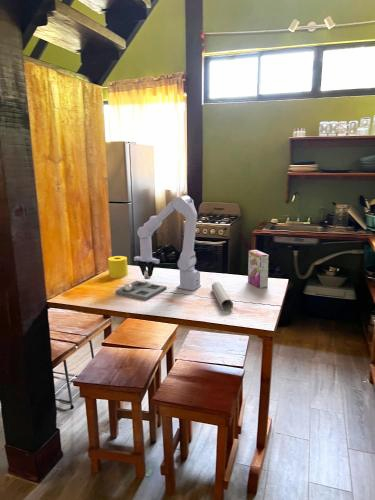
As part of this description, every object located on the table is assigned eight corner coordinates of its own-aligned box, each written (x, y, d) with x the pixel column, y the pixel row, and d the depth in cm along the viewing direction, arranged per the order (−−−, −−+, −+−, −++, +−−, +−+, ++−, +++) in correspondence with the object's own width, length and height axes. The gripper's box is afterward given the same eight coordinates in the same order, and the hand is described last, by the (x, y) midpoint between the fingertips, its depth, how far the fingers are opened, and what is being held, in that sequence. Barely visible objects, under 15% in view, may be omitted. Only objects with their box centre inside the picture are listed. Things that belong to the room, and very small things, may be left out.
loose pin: (151, 277, 182) (151, 270, 181) (148, 279, 179) (147, 272, 178) (146, 277, 184) (146, 269, 183) (143, 278, 181) (142, 271, 180)
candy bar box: (247, 281, 180) (247, 250, 176) (255, 280, 181) (256, 249, 178) (259, 288, 170) (260, 255, 166) (268, 287, 171) (269, 254, 167)
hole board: (166, 289, 170) (166, 286, 170) (146, 300, 157) (146, 297, 157) (136, 283, 179) (136, 280, 179) (115, 293, 166) (115, 290, 165)
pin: (133, 292, 167) (133, 284, 166) (129, 294, 164) (128, 286, 163) (128, 291, 168) (127, 283, 168) (123, 293, 166) (123, 285, 165)
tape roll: (120, 271, 201) (119, 255, 199) (131, 274, 194) (130, 258, 192) (105, 275, 194) (104, 258, 192) (116, 279, 187) (115, 261, 185)
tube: (208, 282, 168) (219, 301, 144) (219, 278, 168) (231, 297, 144) (212, 292, 169) (223, 313, 145) (222, 288, 169) (235, 308, 145)
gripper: (129, 249, 178) (131, 275, 181) (153, 253, 171) (154, 279, 174) (138, 247, 184) (139, 272, 187) (161, 249, 177) (162, 275, 180)
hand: (147, 275), depth 181 cm, fingers closed on loose pin, 3 cm apart
